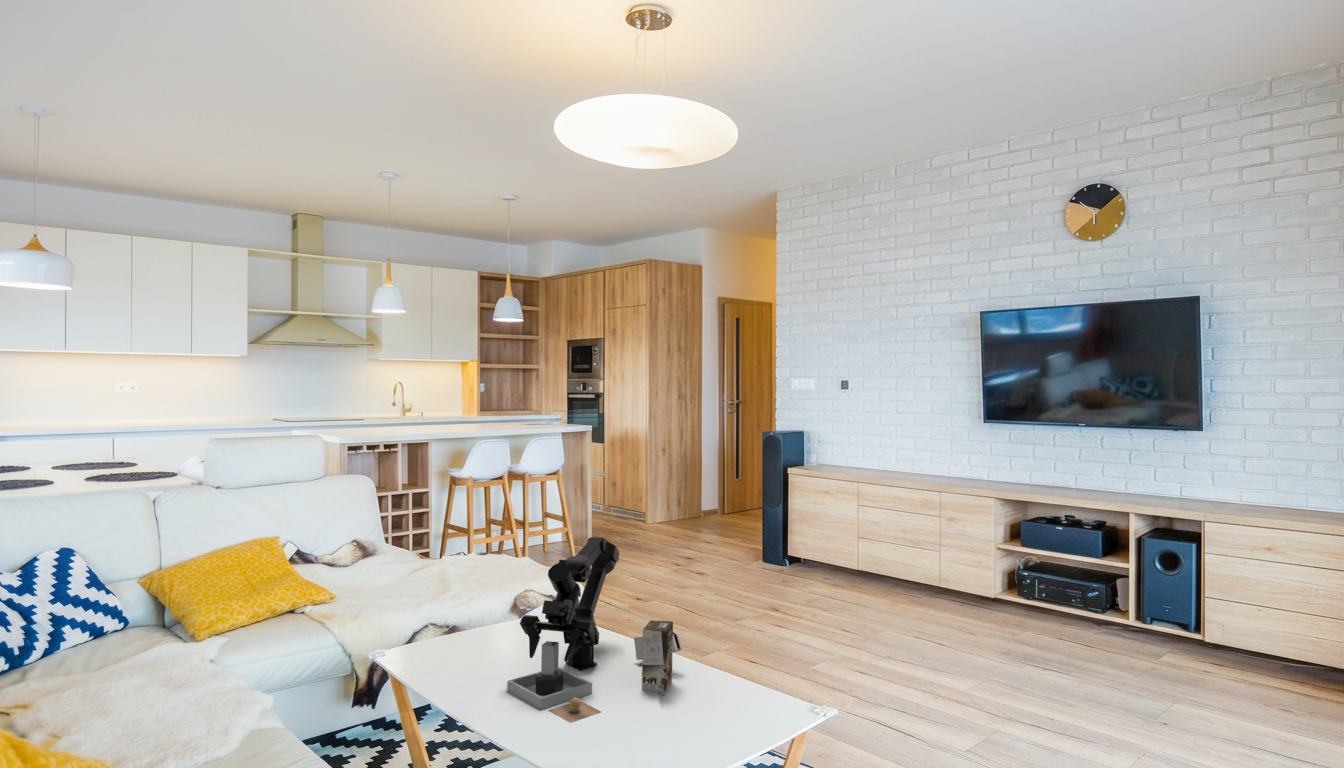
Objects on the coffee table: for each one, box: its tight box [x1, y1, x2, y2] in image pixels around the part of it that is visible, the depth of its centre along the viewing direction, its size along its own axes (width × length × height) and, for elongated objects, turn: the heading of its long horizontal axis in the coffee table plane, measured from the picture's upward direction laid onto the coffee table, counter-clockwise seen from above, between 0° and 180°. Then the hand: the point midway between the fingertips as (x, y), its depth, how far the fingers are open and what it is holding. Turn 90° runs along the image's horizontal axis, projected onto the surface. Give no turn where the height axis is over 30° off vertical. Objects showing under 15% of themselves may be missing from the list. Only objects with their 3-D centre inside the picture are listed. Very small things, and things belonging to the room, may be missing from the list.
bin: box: [506, 666, 593, 710], centre depth 192 cm, size 15×15×4 cm
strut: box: [536, 640, 563, 696], centre depth 192 cm, size 5×5×12 cm
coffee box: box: [641, 620, 674, 696], centre depth 198 cm, size 9×6×16 cm
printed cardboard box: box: [633, 631, 684, 661], centre depth 212 cm, size 4×10×15 cm
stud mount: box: [547, 697, 602, 724], centre depth 180 cm, size 9×9×4 cm
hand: (548, 659), depth 190 cm, fingers open, 9 cm apart
